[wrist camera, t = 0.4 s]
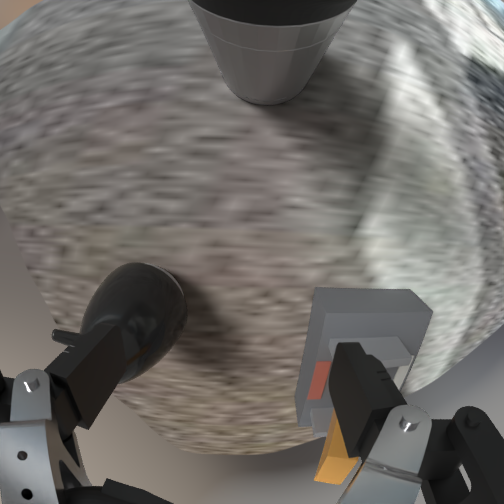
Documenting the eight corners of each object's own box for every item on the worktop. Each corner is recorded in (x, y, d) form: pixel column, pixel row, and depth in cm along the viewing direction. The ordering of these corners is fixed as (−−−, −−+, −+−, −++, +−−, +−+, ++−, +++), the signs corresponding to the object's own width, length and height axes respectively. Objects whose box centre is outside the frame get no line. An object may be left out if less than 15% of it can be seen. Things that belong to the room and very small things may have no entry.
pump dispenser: (126, 237, 30) (43, 291, 16) (206, 273, 31) (167, 358, 17) (110, 306, 33) (47, 377, 18) (180, 339, 34) (143, 429, 19)
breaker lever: (348, 358, 27) (329, 451, 16) (369, 361, 26) (360, 456, 15) (335, 397, 29) (312, 483, 18) (354, 400, 28) (337, 487, 17)
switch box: (314, 287, 31) (335, 336, 22) (410, 289, 31) (451, 329, 21) (294, 396, 37) (301, 449, 27) (374, 391, 36) (393, 438, 27)
